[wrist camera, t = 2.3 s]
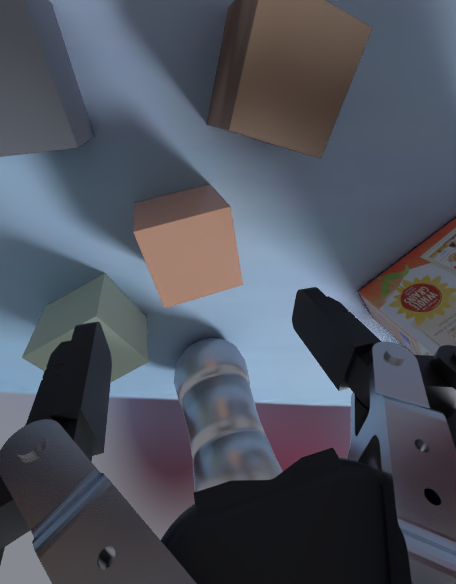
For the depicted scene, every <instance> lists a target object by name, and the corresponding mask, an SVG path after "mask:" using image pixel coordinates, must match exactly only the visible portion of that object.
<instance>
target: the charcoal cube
mask: <svg viewBox="0 0 456 584" xmlns="http://www.w3.org/2000/svg"><path fill="white" fill-rule="evenodd" d="M93 137H94V134H93V131H92V127H91V124H90V121H89V118H88V115H87V112H86V109H85V106H84V103H83V99H82V96H81V93H80V90H79V87H78V84H77V81H76V78H75V75H74V72H73V68H72V65H71V62H70V59H69V56H68V53H67V50H66V47H65V44H64V41H63V37H62V34H61V31H60V28H59V25H58V22H57V19H56V16H55V13H54V9H53V6H52V3H51V2H50V1H49V0H0V157H2V156H11V155H20V154H29V153H37V152H46V151H55V150H63V149H72V148H78V147H80V146H81V145H83V144H84V143H85V142H87V141H88V140H90V139H91V138H93Z"/></svg>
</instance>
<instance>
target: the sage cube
mask: <svg viewBox="0 0 456 584" xmlns="http://www.w3.org/2000/svg"><path fill="white" fill-rule="evenodd" d="M92 322H100V324H101V326H102V329H103V332H104V335H105V338H106V340H107V343H108V346H109V349H110V353H111V359H112V371H111V381H110V382H112V381H114V380H116V379H118V378H120V377H121V376H123V375H125V374H127V373H129V372H131V371H132V370H134V369H136V368H138V367H140V366H142V365H143V364H145V363H147V362H148V343H147V317H146V316H145V315H144V314H143V312H142V311H141V310H140V309H139V308H138V307H137V306H136V305H135V304H134V303H133V302H132V301H131V300H130V299H129V298H128V297H127V296H126V294H125V293H124V292H123V291H122V290H121V289H120V288H119V287H118V286H117V285H116V284H115V283H114V282H113V281H112V280H111V279H110V278H109V276H108V275H107V274H106V273H104V274H102V275H100V276H99V277H97V278H95V279H93V280H91V281H90V282H88V283H86V284H84V285H83V286H81V287H79V288H77V289H75V290H74V291H72V292H70V293H68V294H67V295H65V296H63V297H61V298H60V299H58V300H56V301H54V302H52V303H51V304H49V305H47V306H45V309H44V311H43V313H42V315H41V317H40V319H39V322H38V324H37V326H36V328H35V330H34V332H33V335H32V337H31V339H30V341H29V343H28V345H27V348H26V350H25V352H24V354H23V356H22V358H23V359H25V360H27V361H28V362H30V363H32V364H33V365H35V366H37V367H38V368H40V369H42V370H43V371H45V369H47V367H46V366H47V364H48V361H49V358H50V355H51V353H52V352H53V351H54V350H55V349H56V348H57V346H58V345H59V344H60V343H61V342H64V341H70V340H71V339H72V335H73V332H74V328H75V326H76V325H80V324H86V323H92Z"/></svg>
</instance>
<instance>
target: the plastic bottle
mask: <svg viewBox="0 0 456 584" xmlns="http://www.w3.org/2000/svg"><path fill="white" fill-rule="evenodd" d="M174 384H175V388H176V392H177V396H178V399H179V401H180V404H181V406H182V407H183V412H184V416H185V420H186V425H187V429H188V433H189V438H190V442H191V452H192V459H193V473H194V484H195V492H197V491H200V490H204V489H207V488H210V487H213V486H216V485H219V484H222V483H225V482H228V481H231V480H271V479H273V478H275V477H276V476H278V475H279V474H281V473H282V472H283V471H282V469H281V467H280V466H279V463H278V462H277V460H276V458H275V455H274V453H273V450H272V448H271V446H270V444H269V441H268V439H267V437H266V436H265V432H264V430H263V427H262V425H261V423H260V420H259V417H258V414H257V411H256V407H255V403H254V400H253V396H252V393H251V389H250V382H249V375H248V370H247V366H246V362H245V359H244V358H243V356H242V355H241V353H240V352H239V350H238V349H237V347H236V346H235V345H233V344H232V343H230V342H228V341H225V340H223V339H219V338H208V339H204V340H200V341H198V342H195V343H194V344H192V345H190V346H189V347H188V348H186V349H185V350H184V352H183V353H182V354H181V356H180V357H179V359H178V360H177V363H176V365H175V376H174Z"/></svg>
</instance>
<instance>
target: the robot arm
mask: <svg viewBox="0 0 456 584" xmlns="http://www.w3.org/2000/svg"><path fill="white" fill-rule="evenodd" d="M292 323H293V327H294V329H295V331H296V333H297V334H298V335H299V337H300V338H301V340H302V341H303V342H304V344H305V345H306V346H307V348H308V349H309V351H310V352H311V353H312V355H313V356H314V358H315V359H316V360H317V362H318V363H319V364H320V366H321V367H322V369H323V370H324V371H325V373H326V374H327V376H328V377H329V378H330V380H331V381H332V382H333V384H334V385H335V387H336V388H337V389H338V391H340V390H344V389H347V388H350V389H351V390H352V391H353V394H352V396H351V443H350V449H349V453H348V458H347V459H345V458H339V457H338V456H337V454H336V452H335V450H334V449H333V448H330V449H327V450H324V451H321V452H318V453H315V454H312V455H308V456H305V457H303V458H301V459H300V460H298V461H297V462H295V463H294V464H293V465H291V466H290V467H289V468H287V469H286V470H285V471H283V472H282V473H281V474H279V475H278V476H276V477H275V478H273V479H271V480H231V481H228V482H225V483H222V484H219V485H216V486H213V487H210V488H207V489H204V490H200V491H197V492H194V499H195V504H194V505H192V506H191V507H190V508H188V509H187V510H186V511H185V512H183V513H182V514H181V515H180V516H179V517H178V518H177V519H176V520H175V522H174V523H173V524H172V525H171V526H170V528H169V529H168V530H167V532H166V533H165V534H164V536H163V537H162V539H161V541H160V540H159V538H158V537H157V536H156V535H155V533H154V532H153V531H152V530H151V529H150V528H149V526H148V525H147V524H146V523H145V522H144V520H143V519H142V518H141V517H140V516H139V515H138V513H137V512H136V511H135V510H134V509H133V507H132V506H131V505H130V504H129V503H128V501H127V500H126V499H125V498H124V497H123V496H122V494H121V493H120V492H119V491H118V489H117V488H116V487H115V486H114V485H113V484H112V482H111V481H110V480H109V479H108V478H107V477H106V476H105V475H104V474H103V473H100V472H99V471H98V469H97V468H96V467H95V466H94V465H93V463H92V462H91V460H92V456H94V455H97V454H101V453H104V444H105V433H106V423H107V412H108V402H109V392H110V381H111V371H112V359H111V353H110V349H109V346H108V343H107V340H106V338H105V335H104V332H103V329H102V326H101V324H100V322H92V323H86V324H80V325H76V326H75V328H74V332H73V335H72V339H71V340H70V341H64V342H61V343H60V344H59V345H58V346H57V348H56V349H55V350H54V351H53V352H52V353H51V355H50V358H49V361H48V364H47V366H46V367H47V369H45V372H44V375H43V380H42V381H41V383H40V386H39V389H38V392H37V395H36V398H35V401H34V403H33V406H32V409H31V412H30V415H29V418H28V420H27V423H26V425H25V426H24V427H23V428H21V429H19V430H18V431H17V432H16V433H14V434H13V435H12V436H11V437H10V438H9V439H8V440H7V441H6V443H5V444H4V445H3V447H2V449H1V450H0V564H1V560H2V556H3V552H4V548H5V546H7V545H8V544H10V543H11V542H13V541H14V540H16V539H17V538H19V537H20V536H22V535H24V534H25V533H27V532H28V531H30V530H31V531H32V534H33V536H34V540H33V547H34V550H35V552H36V554H37V556H38V558H39V560H40V562H41V564H42V565H43V567H44V569H45V571H46V573H47V575H48V577H49V578H50V581H51V582H52V584H456V346H453V345H444V346H441V347H439V348H438V350H437V352H436V353H435V355H434V356H429V355H413V354H412V353H411V352H410V351H409V350H408V349H406V348H405V347H403V346H401V345H398V344H396V343H392V342H381V341H380V340H379V339H378V338H377V337H376V336H375V335H374V334H373V333H372V332H371V331H370V330H369V329H368V328H366V327H365V326H364V325H363V324H362V323H361V322H360V321H359V320H358V319H357V318H355V316H354V315H353V314H352V313H351V312H348V310H347V309H346V308H345V307H344V306H343V305H342V304H341V303H340V302H338V301H336V300H334V299H332V298H330V297H326V296H325V295H324V294H323V293H322V292H321V291H320V290H319V289H318V288H316V287H313V288H307V289H301V290H298V292H297V294H296V299H295V304H294V310H293V315H292Z"/></svg>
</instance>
